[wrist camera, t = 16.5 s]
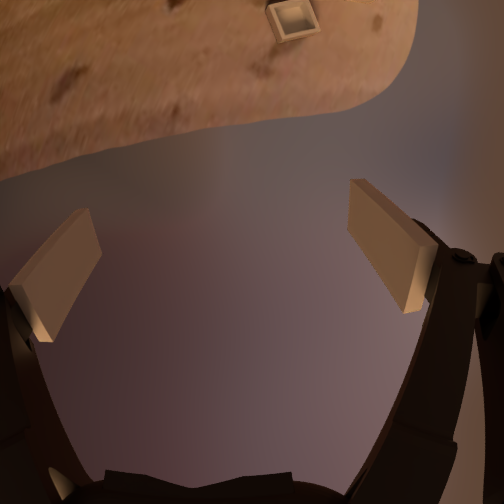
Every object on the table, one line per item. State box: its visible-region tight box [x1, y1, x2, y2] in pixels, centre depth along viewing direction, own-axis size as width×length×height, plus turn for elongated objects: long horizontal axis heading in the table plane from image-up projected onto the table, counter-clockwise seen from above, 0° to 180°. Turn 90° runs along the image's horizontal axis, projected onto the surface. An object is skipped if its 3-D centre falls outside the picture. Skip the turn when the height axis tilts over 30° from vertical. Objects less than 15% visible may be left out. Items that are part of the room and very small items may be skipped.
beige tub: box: [265, 0, 321, 44], centre depth 36 cm, size 6×6×4 cm
